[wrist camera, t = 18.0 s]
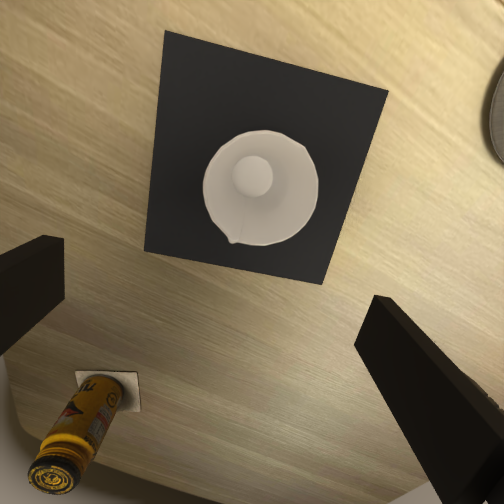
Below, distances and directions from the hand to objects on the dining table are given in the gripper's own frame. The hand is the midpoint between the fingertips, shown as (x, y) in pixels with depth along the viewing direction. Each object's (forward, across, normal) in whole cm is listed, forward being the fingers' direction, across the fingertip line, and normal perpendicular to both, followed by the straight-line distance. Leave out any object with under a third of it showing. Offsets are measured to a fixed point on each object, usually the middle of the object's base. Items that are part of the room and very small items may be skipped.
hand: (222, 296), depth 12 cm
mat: (+21, +2, +3) cm, 22 cm away
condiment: (+22, -12, -31) cm, 40 cm away
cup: (+21, +2, +3) cm, 21 cm away
